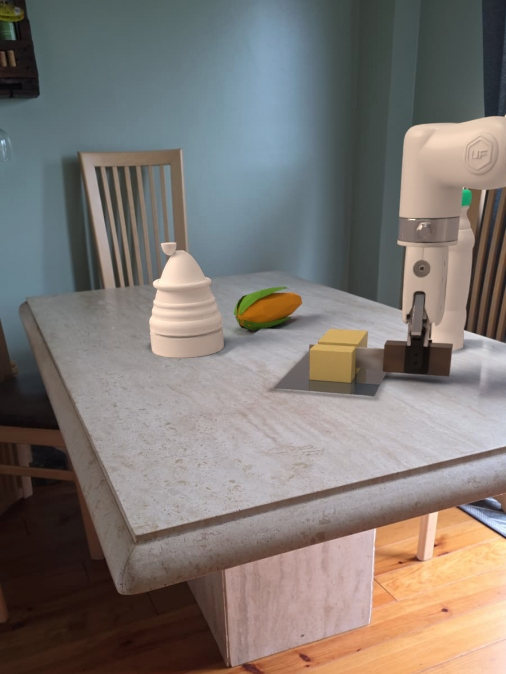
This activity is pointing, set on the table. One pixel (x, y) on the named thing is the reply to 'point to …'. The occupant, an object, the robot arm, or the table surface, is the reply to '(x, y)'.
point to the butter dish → (362, 383)
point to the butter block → (345, 339)
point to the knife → (402, 357)
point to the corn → (265, 308)
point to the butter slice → (332, 363)
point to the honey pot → (184, 310)
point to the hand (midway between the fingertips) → (416, 369)
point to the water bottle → (457, 283)
